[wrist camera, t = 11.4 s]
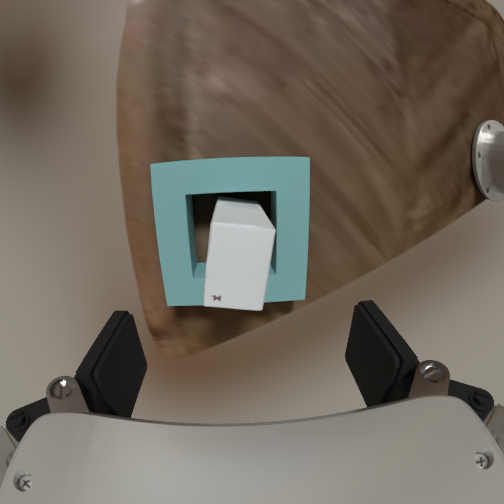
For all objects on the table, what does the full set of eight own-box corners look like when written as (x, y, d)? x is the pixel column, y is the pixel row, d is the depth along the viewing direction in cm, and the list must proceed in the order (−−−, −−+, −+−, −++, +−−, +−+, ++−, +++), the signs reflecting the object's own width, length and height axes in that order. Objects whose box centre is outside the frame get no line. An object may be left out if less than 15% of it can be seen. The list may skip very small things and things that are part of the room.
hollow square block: (299, 156, 27) (309, 157, 23) (296, 282, 32) (304, 299, 28) (161, 162, 26) (150, 164, 22) (174, 288, 31) (167, 305, 27)
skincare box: (251, 254, 30) (262, 314, 19) (211, 250, 30) (200, 308, 18) (259, 199, 28) (278, 229, 17) (217, 193, 28) (208, 220, 17)
